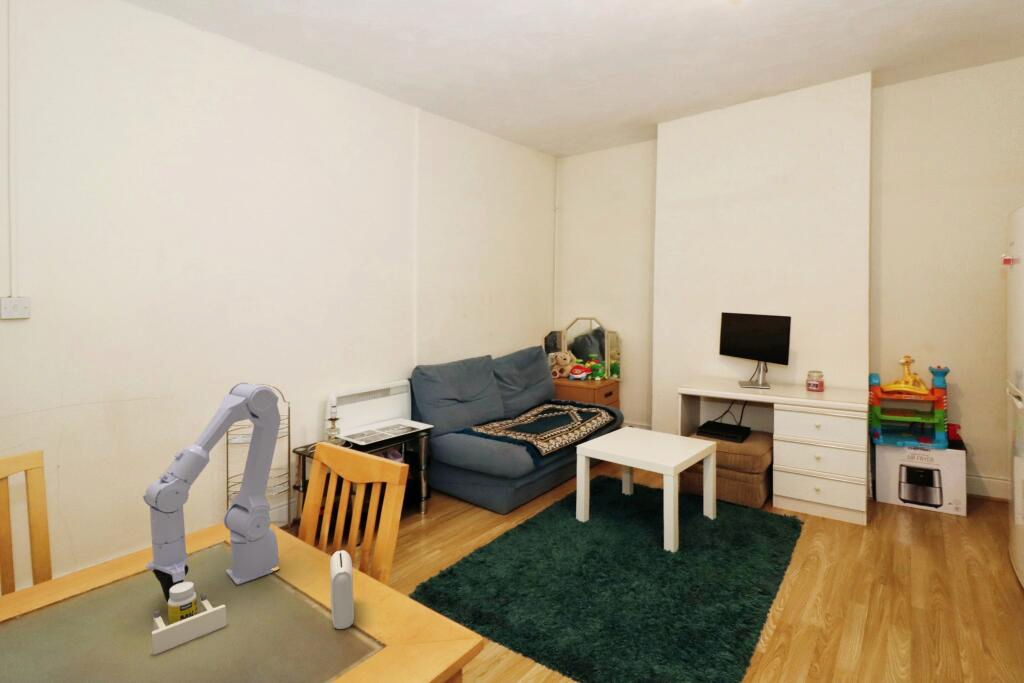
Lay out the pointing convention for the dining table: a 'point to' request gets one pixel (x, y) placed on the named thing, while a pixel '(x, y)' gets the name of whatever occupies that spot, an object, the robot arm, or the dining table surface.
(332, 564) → the photo printer
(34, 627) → the dining table surface
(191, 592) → the supplement bottle
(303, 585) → the dining table surface
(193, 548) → the dining table surface
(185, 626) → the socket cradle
